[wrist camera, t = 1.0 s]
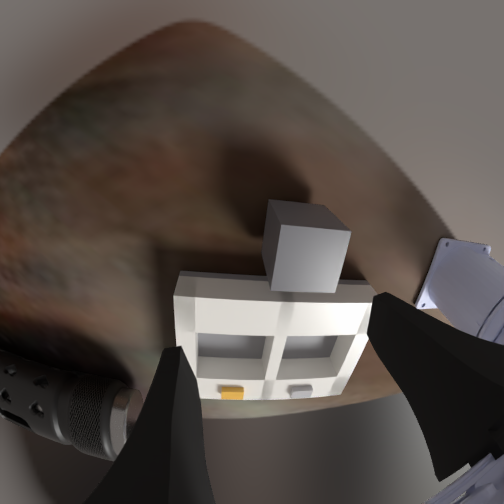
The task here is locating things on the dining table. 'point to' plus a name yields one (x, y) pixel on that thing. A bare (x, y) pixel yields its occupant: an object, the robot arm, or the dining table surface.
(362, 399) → the dining table surface
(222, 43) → the dining table surface
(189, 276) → the double socket
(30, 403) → the muzzle brake
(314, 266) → the plug
